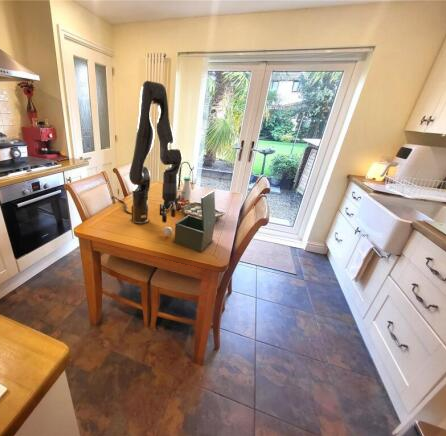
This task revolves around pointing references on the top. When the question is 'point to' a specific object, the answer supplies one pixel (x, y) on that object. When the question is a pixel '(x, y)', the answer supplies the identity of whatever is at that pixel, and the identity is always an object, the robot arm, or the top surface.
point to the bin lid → (208, 210)
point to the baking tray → (198, 210)
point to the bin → (193, 233)
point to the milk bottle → (186, 190)
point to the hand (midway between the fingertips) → (168, 219)
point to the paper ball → (167, 231)
